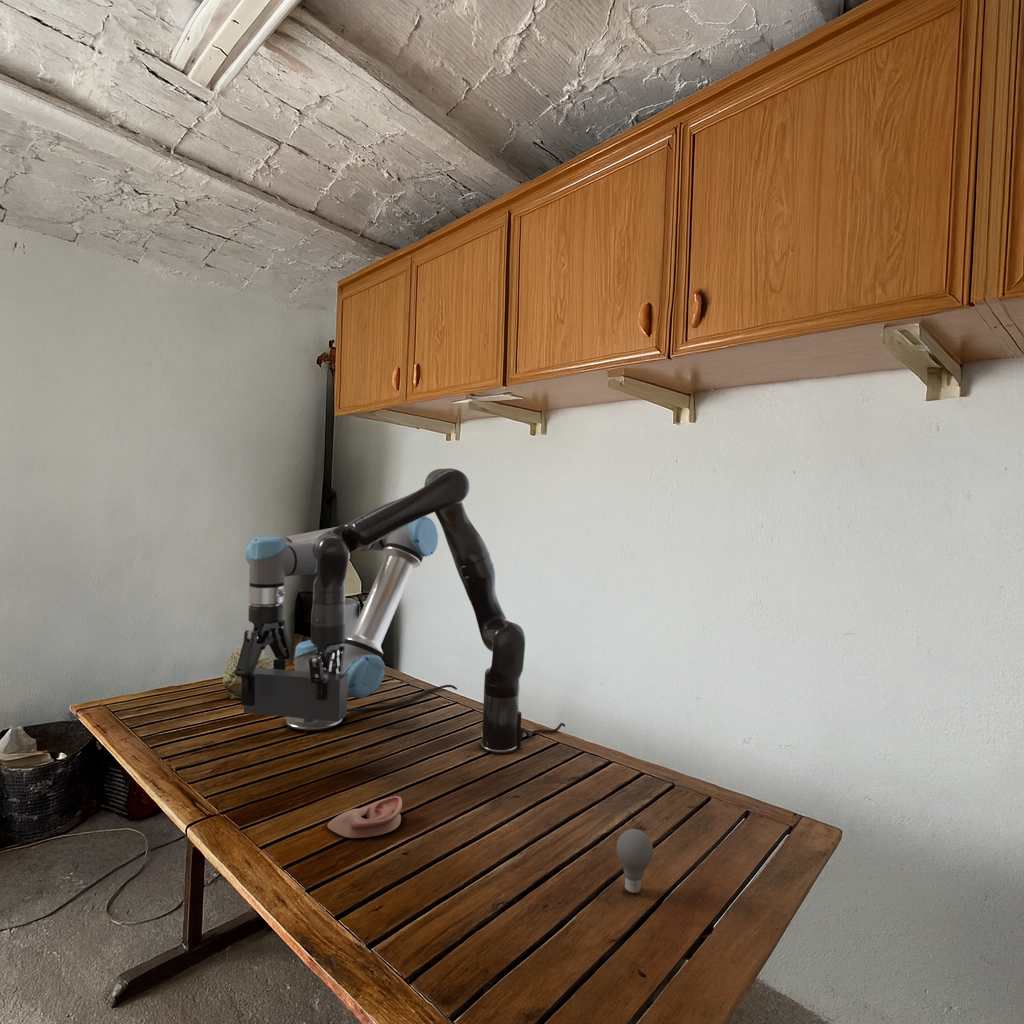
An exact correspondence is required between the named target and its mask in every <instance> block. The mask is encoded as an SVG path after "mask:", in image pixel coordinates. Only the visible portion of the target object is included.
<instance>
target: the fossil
mask: <svg viewBox="0 0 1024 1024" xmlns="http://www.w3.org/2000/svg"><path fill="white" fill-rule="evenodd" d="M241 649H242V646H238V647H237V648H236V649H235V650H233V651H232V653H231V656H230V657H229V659H228V660H227V663H226V666H225V668H224V671H223V675H222V676H223V677H222V685H223V687H224V688H225V690H226V691H228V693H229V698H230V699H241V683H242V678H241V676H236V675H235V671H236V667H237V664H238V660H239V656H240V653H241ZM273 664H274V659H272V658H271V657H270V656H269V655H268V654H267V653H266V652H265V649H264V650H262V653H261V655H260V658H259V660H258V663H257V665H256V668H269V669H273Z"/></svg>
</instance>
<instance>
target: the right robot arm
mask: <svg viewBox="0 0 1024 1024" xmlns="http://www.w3.org/2000/svg"><path fill="white" fill-rule="evenodd" d="M470 486H471V485H470V481H469V478H468V477H467V475H466V474H465V473H464V472H462V471H461V470H459V469H455V468H450V467H448V468H437V469H434V470H432V471H430V472H429V473H428V474H427V476H426V478H425V480H424V486H423V487H421V488H420V489H418V490H416V491H413V492H412V493H410V494H408V495H405V496H403V497H400V498H397V499H395V500H392V501H389V502H387V503H385V504H382V505H380V506H378V507H375V508H373V509H372V510H369V511H368V512H366V513H364V514H362V515H360V516H358V517H356V518H354V520H351V521H349V522H348V523H345V524H342V525H339V526H336V527H337V528H334V527H333V528H334V529H332V530H330V531H328V532H326V533H324V534H322V535H320V536H319V537H318V538H317V539H316V540H315V541H314V543H313V547H312V551H313V554H314V556H315V558H316V559H317V573H316V577H315V579H314V581H313V585H312V586H313V590H312V608H311V613H310V615H311V616H310V617H311V618H310V640H311V642H312V643H313V644H315V645H316V646H317V650H316V657H315V658H310V659H309V667H310V676H311V682H312V683H316V684H317V686H316V699H317V700H321V701H324V700H326V699H327V680H328V674H329V673H331V674H339V672H341V671H342V666H343V659H344V651H345V646H339V644H340V645H341V643H343V642H344V641H345V637H346V628H347V627H346V626H347V625H346V623H347V608H346V578H347V575H348V567H349V561H350V553H353V552H355V551H357V550H356V549H358V548H361V547H367V546H369V545H372V544H374V543H375V542H377V541H379V540H381V539H383V538H385V537H386V536H388V535H390V534H392V533H394V532H395V531H397V530H399V529H401V528H403V527H404V526H406V525H408V524H410V523H412V522H414V521H416V520H418V519H420V518H422V517H424V516H426V517H427V516H429V515H431V514H435V516H436V518H437V520H438V521H439V524H440V527H441V529H442V531H443V535H444V537H445V540H446V543H447V546H448V549H449V551H450V554H451V556H452V559H453V562H454V566H455V568H456V571H457V573H458V577H459V578H460V581H461V582H462V585H463V587H464V590H465V592H466V595H467V597H468V600H469V602H470V605H471V606H472V609H473V612H474V615H475V616H474V617H475V619H476V623H477V627H478V630H479V634H480V638H481V641H482V644H483V645H484V646H485V648H486V649H487V650H488V651H490V652H492V656H491V665H490V667H487V668H486V669H485V671H484V678H483V679H484V680H483V703H482V705H483V706H482V727H481V731H480V733H481V734H480V735H481V743H480V748H481V749H482V750H484V751H485V752H487V753H491V754H499V755H500V754H501V755H502V754H510V753H513V752H515V751H516V750H519V749H521V740H524V733H525V734H526V737H527V738H531V737H532V736H533V735H534V734H537V733H556V732H558V731H559V730H560V728H562V727H563V728H564V727H566V724H565V723H564V722H560V723H559V724H558V726H557V727H556V728H553V729H534V730H532V731H531V732H529V731H528V730H527V729H524V727H523V726H522V711H521V710H519V707H520V688H521V687H520V686H521V676H522V674H523V672H524V667H525V657H526V655H525V654H526V634H525V631H524V629H523V627H522V626H521V625H520V624H518V623H517V622H515V621H511V620H509V619H508V617H507V616H506V615H505V612H504V610H503V608H502V606H501V603H500V601H499V597H498V592H497V571H496V567H495V563H494V561H493V558H492V556H491V553H490V551H489V548H488V546H487V544H486V542H485V540H484V539H483V537H482V536H481V535H480V533H479V531H478V530H477V529H476V528H475V526H474V525H473V523H472V522H471V520H470V518H469V517H468V515H467V512H466V509H465V506H464V503H463V501H464V500H465V499H466V498H467V497H468V495H469V492H470ZM323 668H326V669H323ZM323 673H324V676H323ZM315 674H316V677H315Z"/></svg>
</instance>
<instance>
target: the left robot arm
mask: <svg viewBox="0 0 1024 1024" xmlns="http://www.w3.org/2000/svg"><path fill="white" fill-rule="evenodd" d="M337 527H338V526H335V527H330V528H324V529H319V530H314V531H309V532H303V533H297V534H294V535H288V536H284V537H280V536H256V537H254V538H252V539H251V541H250V543H248V545H247V546H246V549H245V553H244V554H245V555H244V556H245V560H246V562H247V564H248V565H249V576H248V577H249V579H248V581H249V582H248V583H249V585H248V604H250V605H249V606H248V613H247V615H248V618H247V619H248V622H250V623H252V624H253V628H252V630H250V629H245V631H244V633H243V642H242V646H241V647H242V649H241V653H240V656H239V660H238V664H237V667H236V671H235V675H236V676H241V678H242V683H241V698H240V705H241V706H244V705H246V706H253V705H254V699H255V676H252V675H253V673H254V670H255V668H256V665H257V663H258V660H259V658H260V655H261V653H262V650H264V651H265V649H266V647H267V646H269V647H270V650H271V651H272V654H273V655H274V658H275V659H273V661H274V664H273V669H281V670H286V663H287V660H290V659H291V654H292V649H291V646H290V645H291V644H290V641H289V637H288V633H287V630H286V620H285V619H284V609H285V607H284V605H283V604H282V603H284V597H285V596H284V595H285V594H286V592H285V590H284V589H285V587H284V586H285V577H292V576H303V575H310V576H311V575H314V574H317V559H316V558H315V556H314V554H313V551H312V547H313V543H314V541H315V540H316V539H317V538H318V537H319V536H320V535H322V534H324V533H326V532H328V531H330V530H332V529H334V528H337ZM438 543H439V534H438V529H437V525H436V524H435V522H434V521H433V520H432V519H431V517H428V516H427V515H426V516H424V517H422V518H420V519H418V520H416V521H414V522H412V523H410V524H408V525H406V526H404V527H403V528H401V529H399V530H397V531H395V532H394V533H392V534H390V535H388V536H386V537H385V538H383V539H381V540H379V541H377V542H375V543H374V544H372V545H369V546H367V547H361V548H358V549H356V550H355V551H358V552H361V553H363V552H368V551H378V552H380V551H381V552H382V553H383V555H384V559H383V562H382V564H381V566H380V568H379V571H378V572H377V575H376V578H375V580H374V582H373V584H372V587H371V589H370V591H369V594H368V595H367V597H366V600H365V603H364V605H363V607H362V608H361V611H360V613H359V615H358V618H357V620H356V623H355V625H354V627H353V629H352V632H351V634H350V635H348V636H345V641H344V642H343V643H341V644H339V646H345V651H344V659H343V666H342V671H341V672H339V674H343V675H348V693H347V698H355V699H365V698H367V697H369V696H370V695H372V694H374V693H375V692H376V691H377V690H378V688H380V686H381V685H382V682H383V681H384V677H385V673H386V670H385V667H386V666H385V662H384V661H383V659H382V658H383V656H384V651H383V649H382V644H383V642H384V639H385V637H386V634H387V632H388V629H389V628H390V625H391V623H392V620H393V618H394V615H395V614H396V613H395V612H396V611H397V608H398V606H399V603H400V601H401V599H402V596H403V593H404V591H405V589H406V587H407V584H408V581H409V580H410V577H411V574H412V571H413V570H414V569H415V568H418V567H420V566H421V564H422V562H423V559H424V558H426V557H429V556H431V555H433V554H434V553H435V552H436V549H437V547H438ZM316 650H317V646H316V645H315V644H313V643H312V642H311V639H308V640H304V641H301V642H299V643H298V644H297V645H296V646H295V652H294V656H293V659H294V661H293V662H294V668H293V670H294V671H306V672H310V667H309V659H310V658H315V657H316ZM323 669H326V668H323ZM445 688H452V689H454V690H458V687H457V686H455V685H453V684H444V685H440V686H436V687H433V688H429V689H426V690H424V691H422V692H420V693H418V694H416V695H414V696H413V697H411V698H408V699H406V700H402V701H399V702H394V703H390V704H385V705H377V706H369V707H359V708H358V707H357V708H355V707H354V708H347V713H348V712H365V711H373V710H380V709H387V708H392V707H397V706H400V705H404V704H407V703H411V702H412V701H414V700H416V699H417V698H420V697H421V696H423V695H425V694H427V693H431V692H434V691H438V690H442V689H445ZM343 722H344V718H342V719H341V720H340V721H339V722H337V721H326V720H316V719H305V718H294V717H285V726H286V728H287V729H289V730H291V731H294V732H295V731H296V732H301V733H316V732H325V731H329V730H332V729H335V728H337V727H339V726H340V725H342V723H343Z"/></svg>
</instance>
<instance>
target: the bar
mask: <svg viewBox="0 0 1024 1024" xmlns="http://www.w3.org/2000/svg"><path fill="white" fill-rule="evenodd" d="M252 676H255V699H254V705H253V706H246V705H243V714H250V715H251V714H253V715H263V716H273V717H283V718H286V717H294V718H305V719H316V720H326V721H337V722H339V721H340V720H341V719H342V718H343V719H344V718H345V717H347V715H348V712H347V709H348V697H347V693H348V675H343V674H331V673H329V674H328V680H327V699H326V700H324V701H321V700H317V699H316V686H317V684H316V683H312V682H311V676H310V672H306V671H294V669H291V670H290V669H285V670H281V669H269V668H255V670H254V673H253V675H252ZM323 676H324V673H323ZM315 677H316V674H315Z"/></svg>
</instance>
